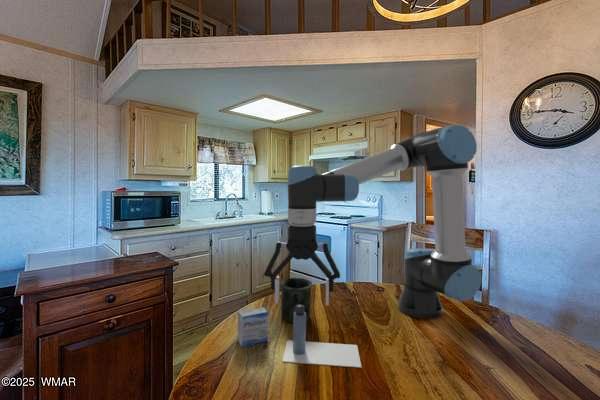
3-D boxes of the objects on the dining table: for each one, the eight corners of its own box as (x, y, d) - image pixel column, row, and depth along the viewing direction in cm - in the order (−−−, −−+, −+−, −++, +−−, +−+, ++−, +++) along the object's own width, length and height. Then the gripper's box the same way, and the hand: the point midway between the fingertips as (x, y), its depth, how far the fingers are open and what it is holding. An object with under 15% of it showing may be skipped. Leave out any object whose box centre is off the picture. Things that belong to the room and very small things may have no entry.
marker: (305, 348, 79) (306, 304, 78) (305, 355, 75) (305, 309, 75) (293, 347, 79) (294, 303, 78) (292, 354, 75) (293, 308, 75)
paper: (356, 345, 81) (356, 345, 81) (361, 367, 71) (361, 366, 71) (287, 340, 82) (287, 340, 82) (282, 361, 72) (282, 361, 72)
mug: (310, 310, 104) (311, 278, 103) (312, 330, 89) (313, 292, 88) (281, 309, 104) (281, 277, 103) (277, 329, 89) (278, 291, 89)
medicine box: (241, 347, 78) (241, 317, 78) (237, 340, 82) (237, 310, 82) (268, 341, 82) (268, 312, 82) (263, 334, 86) (263, 306, 86)
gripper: (252, 225, 73) (253, 306, 74) (350, 226, 71) (349, 310, 72) (259, 222, 80) (259, 295, 81) (348, 223, 78) (347, 298, 79)
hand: (302, 302), depth 77 cm, fingers open, 13 cm apart
